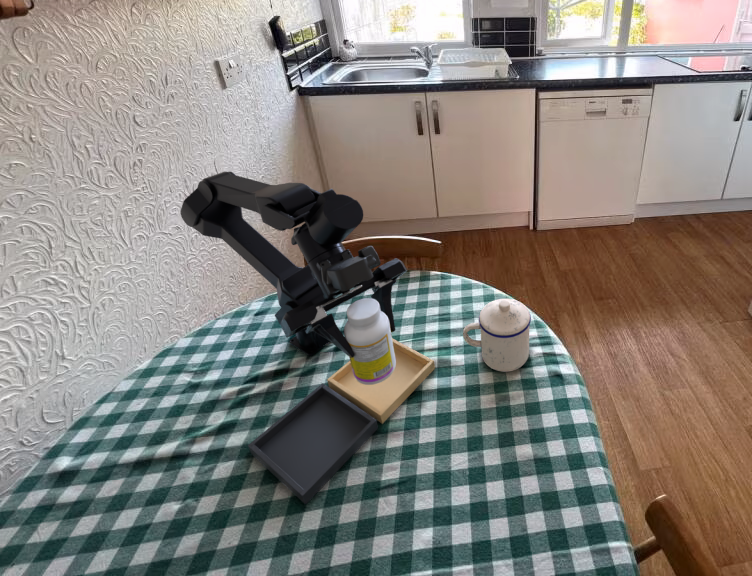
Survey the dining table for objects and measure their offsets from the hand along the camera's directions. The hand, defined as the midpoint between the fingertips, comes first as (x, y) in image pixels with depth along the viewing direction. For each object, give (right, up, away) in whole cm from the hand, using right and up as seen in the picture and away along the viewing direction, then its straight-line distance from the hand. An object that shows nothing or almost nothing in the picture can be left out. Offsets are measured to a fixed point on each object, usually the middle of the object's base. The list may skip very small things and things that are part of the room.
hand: (373, 344), depth 63 cm
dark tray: (-8, -14, -2) cm, 16 cm away
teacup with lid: (+18, -7, +13) cm, 23 cm away
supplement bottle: (-1, -6, +4) cm, 7 cm away
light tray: (-1, -9, +8) cm, 12 cm away
